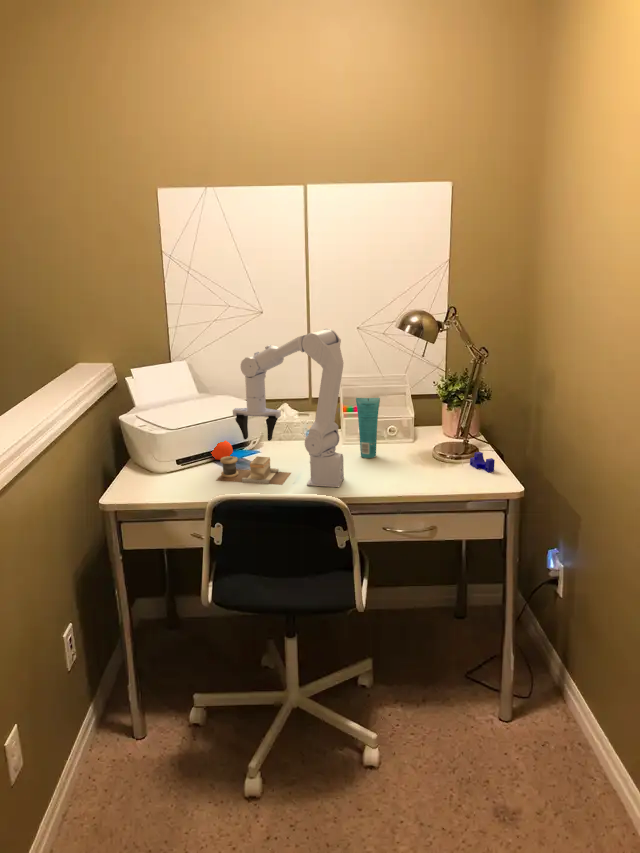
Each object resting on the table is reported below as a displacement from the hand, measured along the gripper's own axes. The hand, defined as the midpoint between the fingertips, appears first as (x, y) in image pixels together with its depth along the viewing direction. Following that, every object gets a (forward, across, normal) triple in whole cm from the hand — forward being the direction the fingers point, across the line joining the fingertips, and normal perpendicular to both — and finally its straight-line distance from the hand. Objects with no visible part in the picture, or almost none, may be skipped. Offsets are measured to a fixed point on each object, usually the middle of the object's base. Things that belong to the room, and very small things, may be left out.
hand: (257, 439), depth 223 cm
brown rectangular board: (+9, -2, +11) cm, 15 cm away
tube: (+10, -31, -17) cm, 37 cm away
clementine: (+10, +14, -4) cm, 17 cm away
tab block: (+8, -4, +11) cm, 14 cm away
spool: (+8, +6, +11) cm, 15 cm away
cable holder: (+10, -67, -12) cm, 68 cm away
